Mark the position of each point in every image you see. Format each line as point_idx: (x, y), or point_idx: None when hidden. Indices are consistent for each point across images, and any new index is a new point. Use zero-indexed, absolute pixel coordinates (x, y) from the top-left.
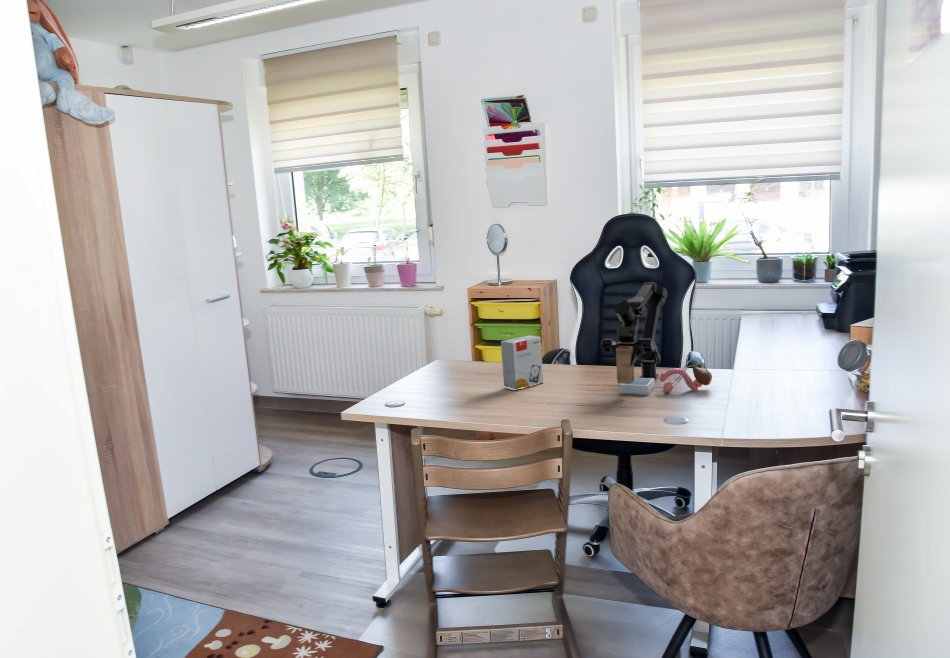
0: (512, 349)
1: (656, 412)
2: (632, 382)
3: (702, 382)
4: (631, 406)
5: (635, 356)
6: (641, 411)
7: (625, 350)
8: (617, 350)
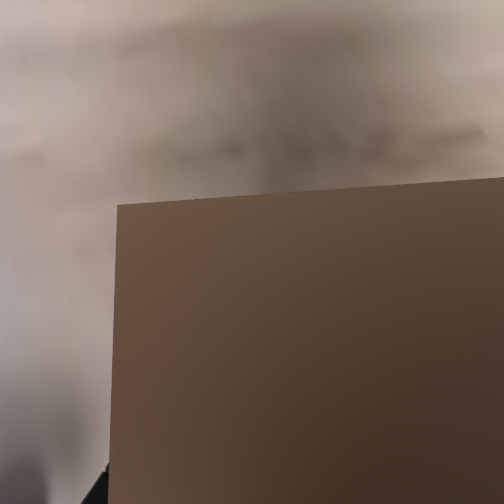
0: None
1: (31, 109)
2: None
3: None
4: (184, 174)
5: (106, 485)
6: (110, 108)
7: (287, 213)
8: None
